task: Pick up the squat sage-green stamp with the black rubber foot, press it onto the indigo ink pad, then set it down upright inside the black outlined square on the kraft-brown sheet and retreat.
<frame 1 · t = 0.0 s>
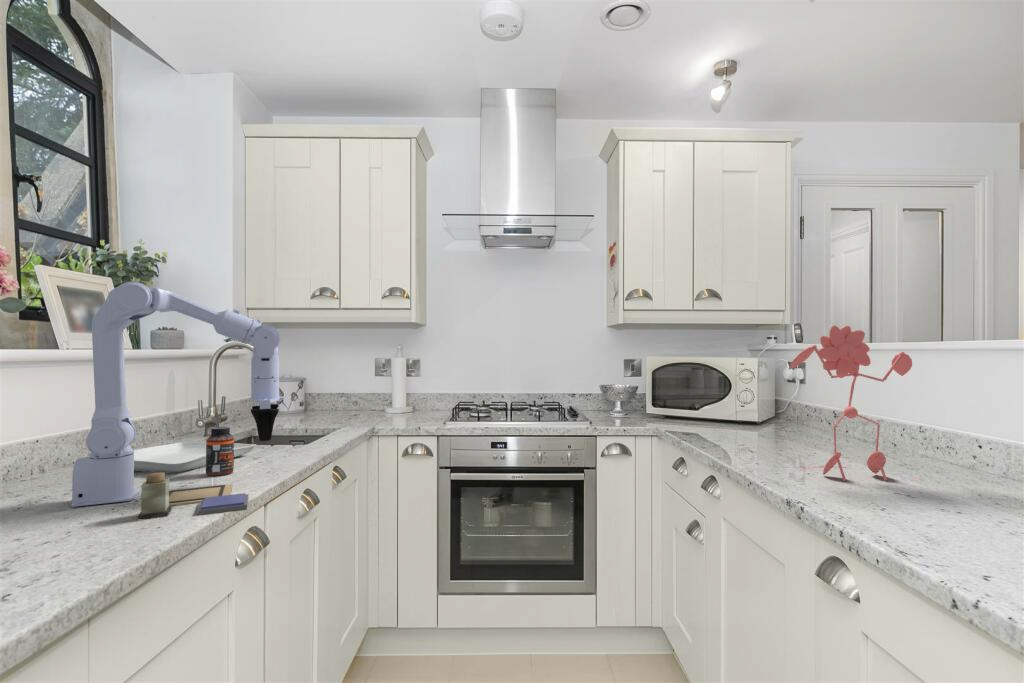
hand: (265, 438, 116), 10 cm above the worktop, fingers open, 7 cm apart
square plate: (179, 464, 138), on the worktop
ink pad: (224, 506, 98), on the worktop
supplement bottle: (219, 474, 125), on the worktop
stamp: (155, 514, 93), on the worktop
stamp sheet: (195, 495, 105), on the worktop
figurine: (846, 474, 120), on the worktop
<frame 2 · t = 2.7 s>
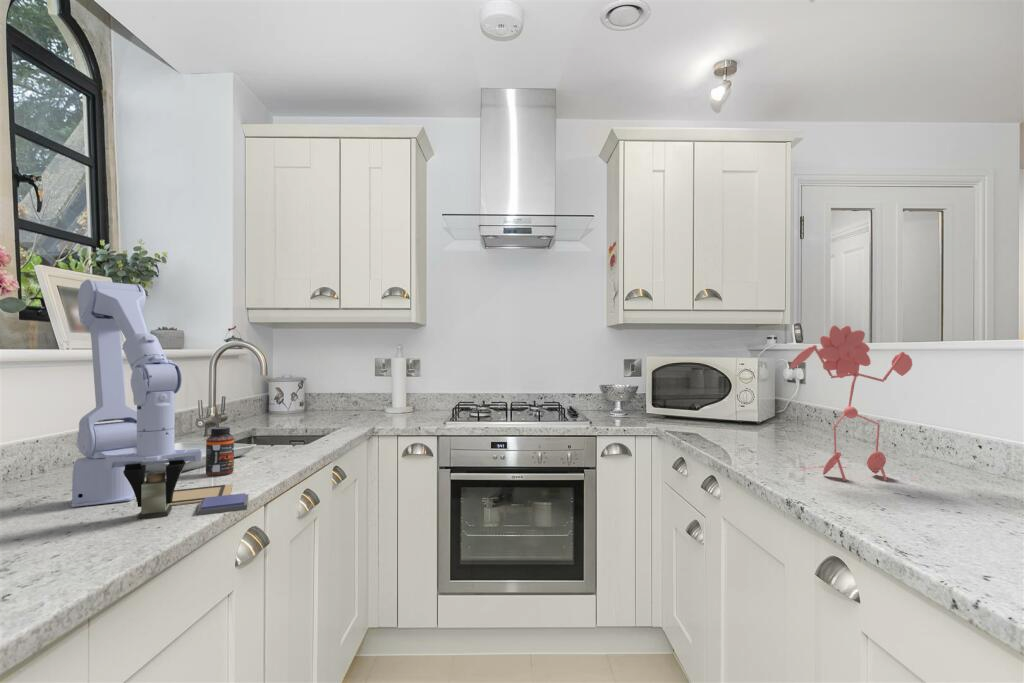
hand: (155, 503, 93), 2 cm above the worktop, fingers closed on stamp, 4 cm apart
stamp: (155, 514, 93), on the worktop, touching gripper
everything else where it was.
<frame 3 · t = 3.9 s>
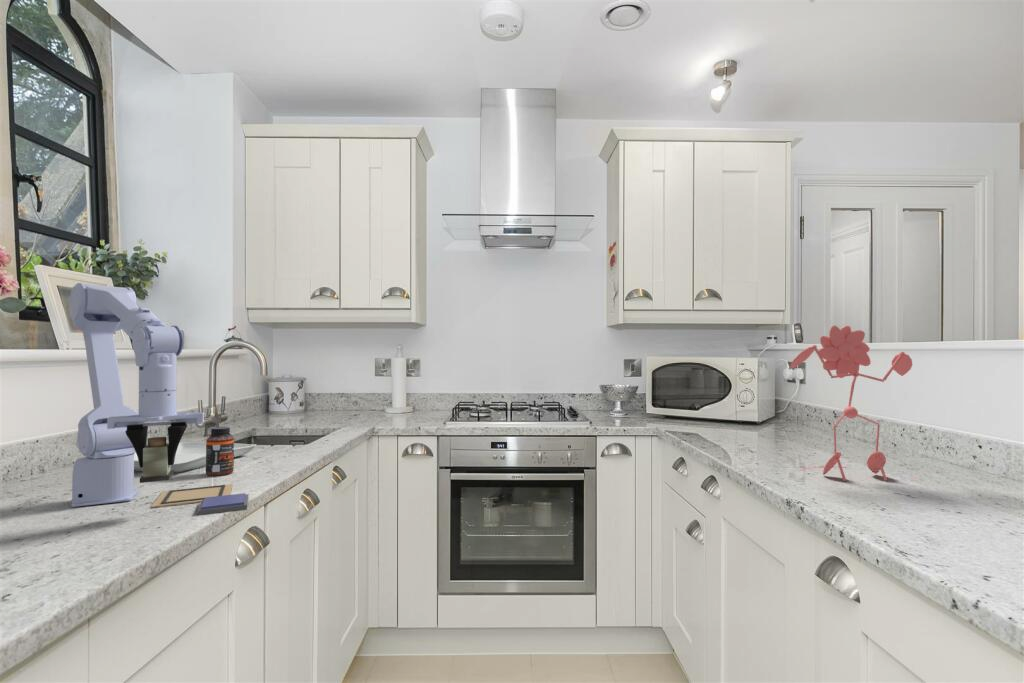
hand: (157, 465, 94), 9 cm above the worktop, fingers closed on stamp, 4 cm apart
stamp: (157, 478, 93), point 7 cm above the worktop, touching gripper
everything else where it was.
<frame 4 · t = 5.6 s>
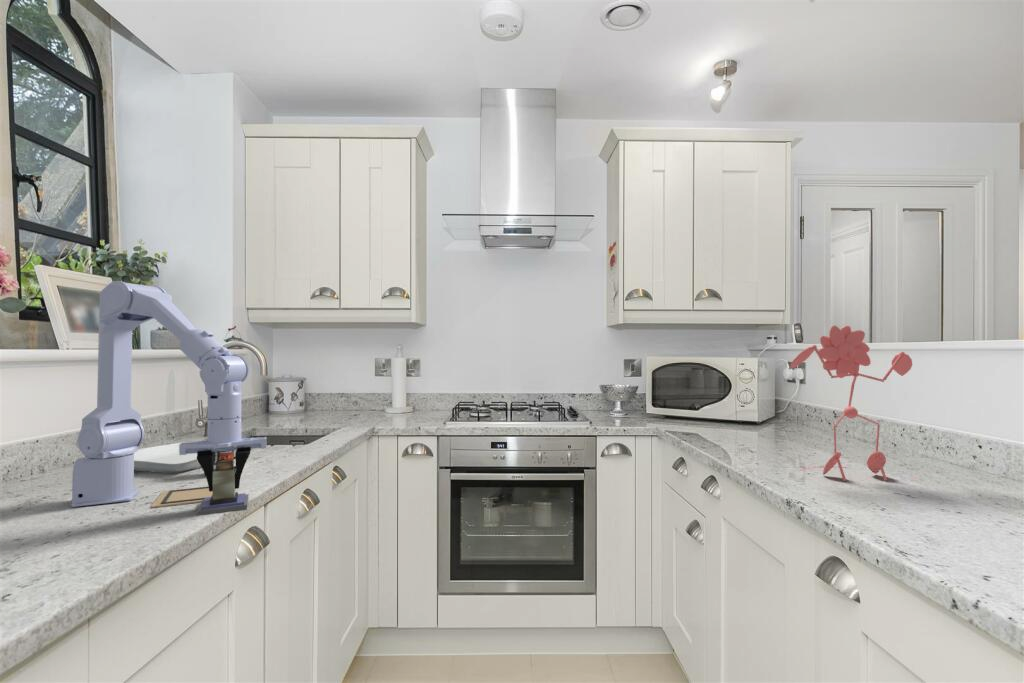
hand: (224, 488, 98), 3 cm above the worktop, fingers closed on stamp, 4 cm apart
stamp: (224, 500, 98), point 1 cm above the worktop, touching gripper, ink pad
everything else where it was.
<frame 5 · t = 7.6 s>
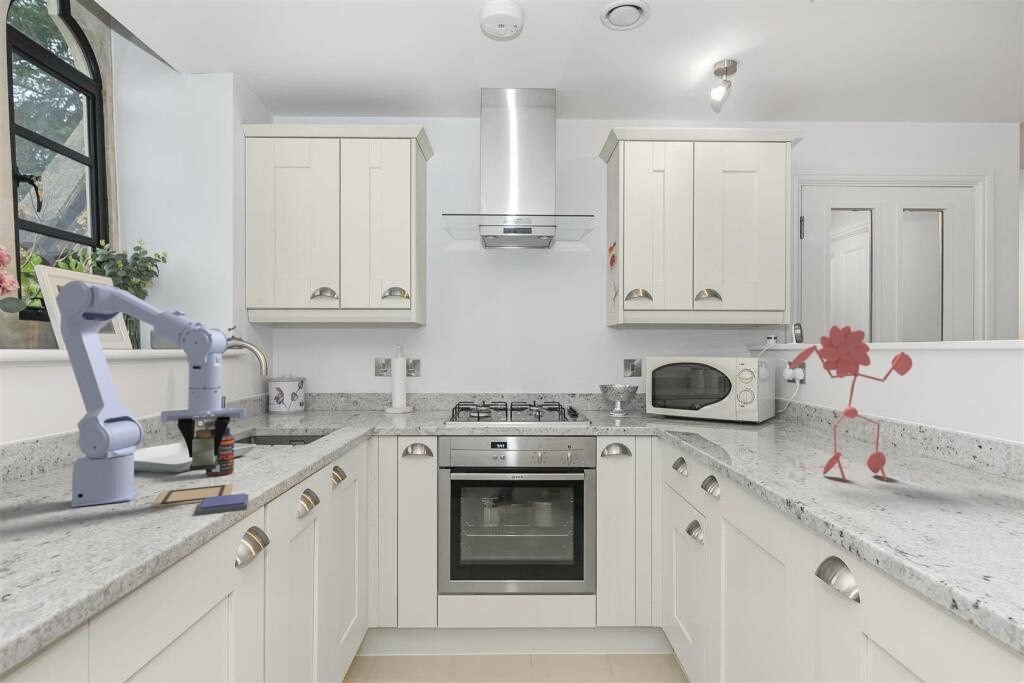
hand: (204, 455, 103), 9 cm above the worktop, fingers closed on stamp, 4 cm apart
stamp: (203, 467, 102), point 7 cm above the worktop, touching gripper
everything else where it was.
when the fingers open (3 cm above the worktop, at t = 9.4 s): stamp stays where it is, resting on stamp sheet.
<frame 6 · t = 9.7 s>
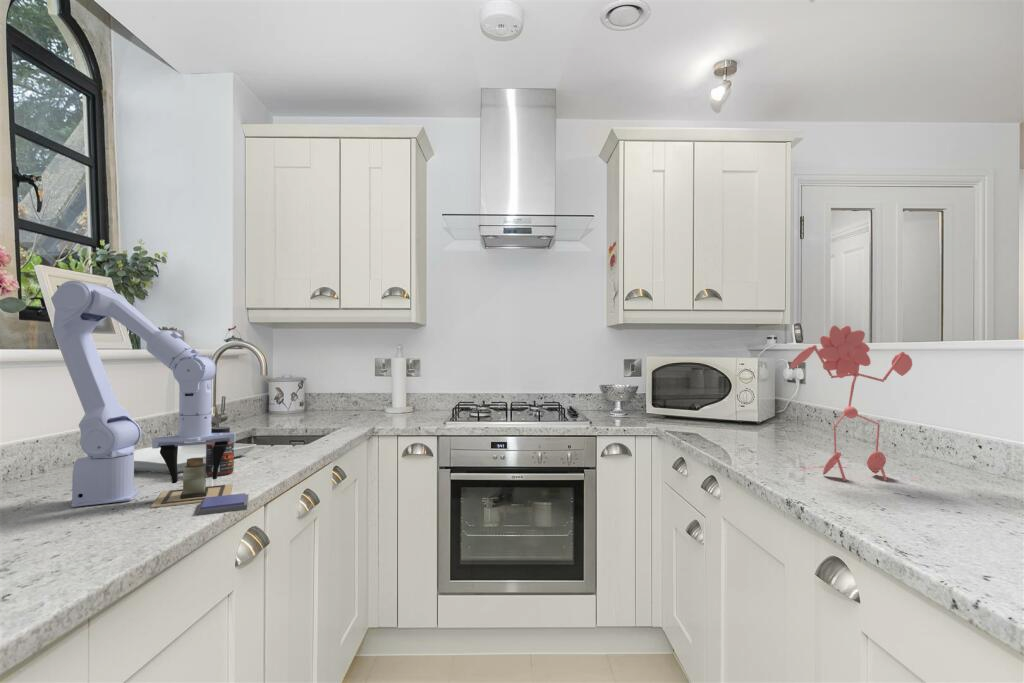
hand: (195, 480, 106), 3 cm above the worktop, fingers open, 6 cm apart
stamp: (194, 495, 105), resting on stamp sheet
everything else where it was.
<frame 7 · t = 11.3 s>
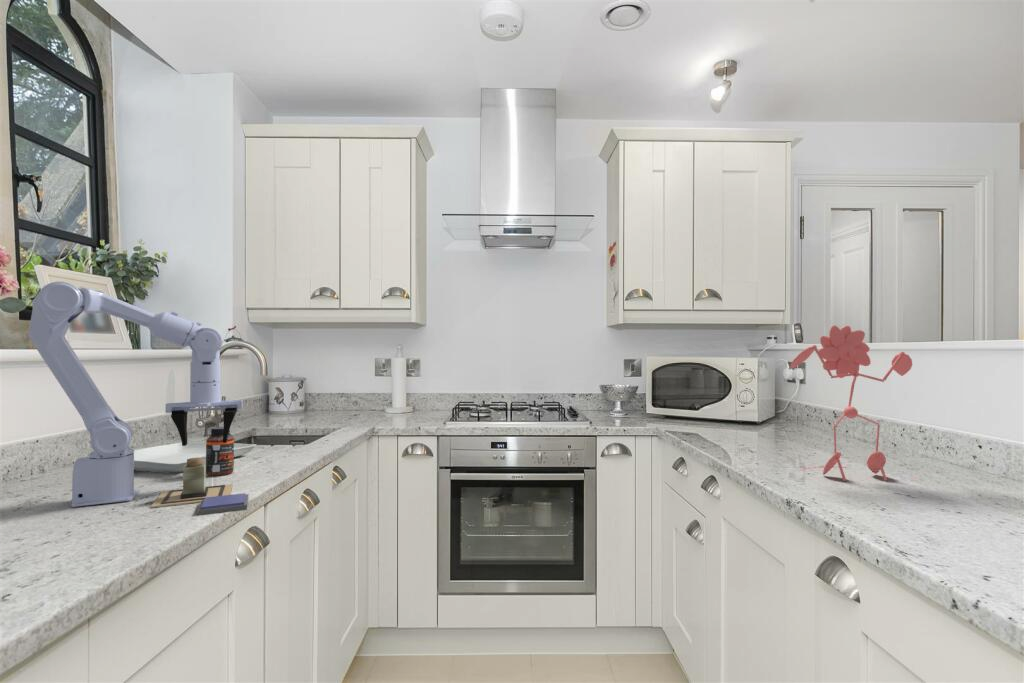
hand: (205, 443, 113), 9 cm above the worktop, fingers open, 7 cm apart
nothing on the worktop moved.
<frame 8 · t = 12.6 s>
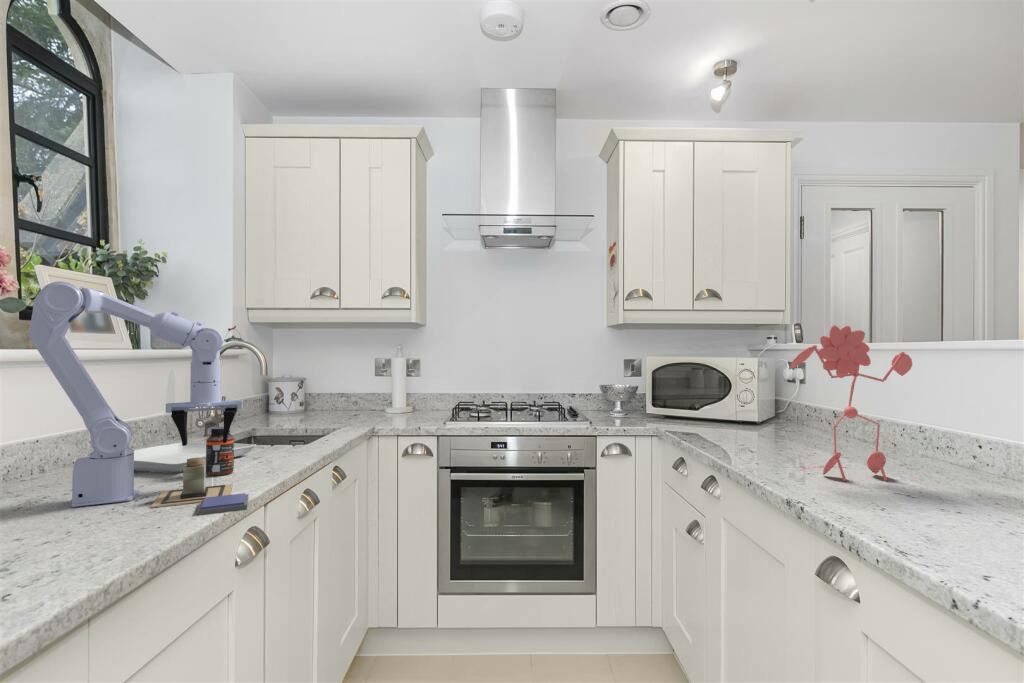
hand: (205, 443, 113), 9 cm above the worktop, fingers open, 7 cm apart
nothing on the worktop moved.
at the end: stamp 0.6 cm off-centre on the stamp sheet, point 0.3 cm above the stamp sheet's base; stamp tilted 0°; the gripper is holding nothing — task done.
